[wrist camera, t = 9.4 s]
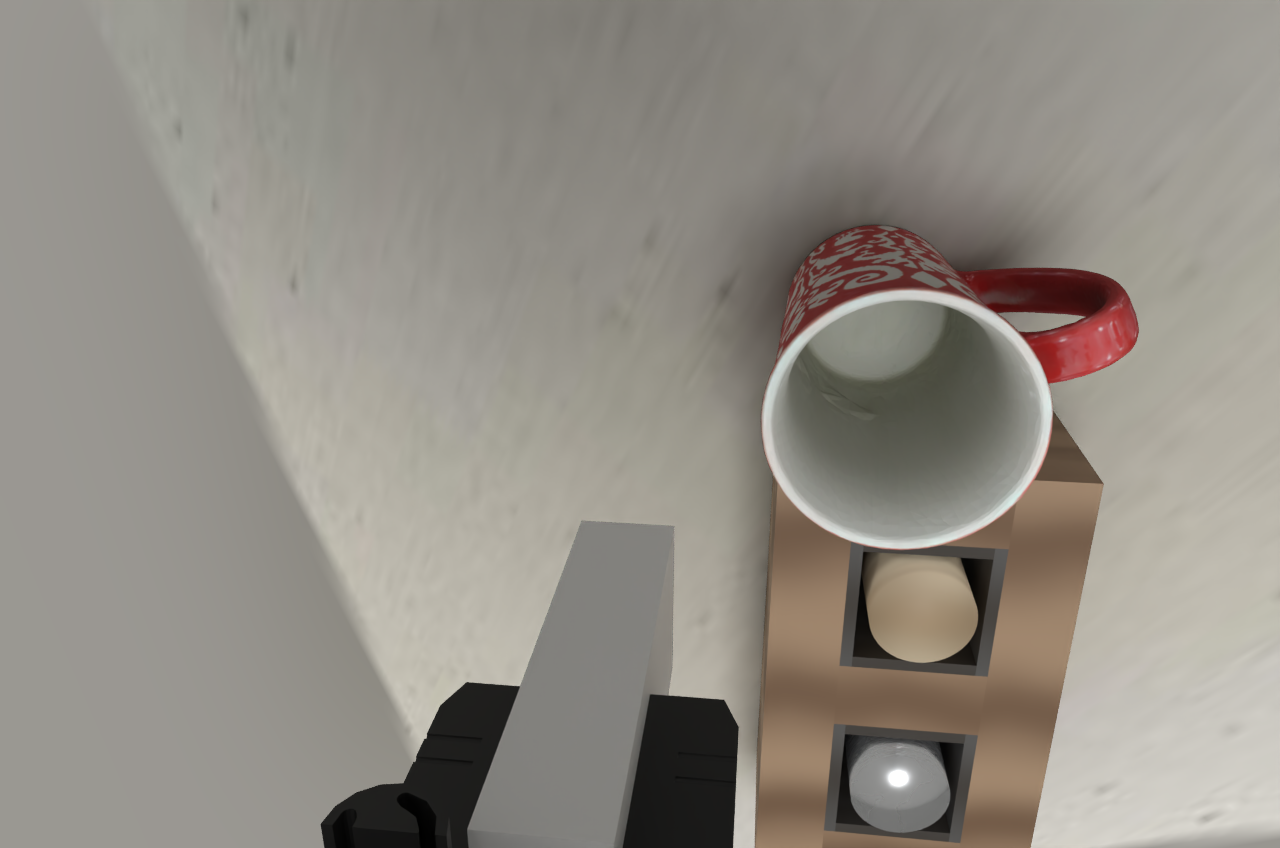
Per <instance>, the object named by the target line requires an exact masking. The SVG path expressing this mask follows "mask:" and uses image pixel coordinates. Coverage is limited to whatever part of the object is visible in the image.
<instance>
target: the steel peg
mask: <svg viewBox="0 0 1280 848" xmlns="http://www.w3.org/2000/svg"><path fill="white" fill-rule="evenodd" d="M845 745H846V756H847V766H848V776H849V786H850V796H851V802H852V805H853V807H854V809H855V811H856V812H857V814H858V815H859V816H860V817H861V818H862V819H863V820H864V821H866V822H867V823H869V824H870V825H872V826H874V827H876V828H879V829H881V830H885V831H889V832H899V833H903V832H913V831H917V830H921V829H923V828H926V827H928V826H930V825H932V824H933V823H935V822H936V821H937V820H938V819H940V818H941V816H942V815H943V814H944V813H945V811H946V810H947V807H948V805H949V802H950V788H949V784H948V779H947V775H946V770H945V766H944V762H943V757H942V753H941V748H940V744H939V742H936V741H924V740H912V739H900V738H888V737H875V736H863V735H851V734H845Z"/></svg>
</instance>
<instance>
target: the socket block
mask: <svg viewBox="0 0 1280 848" xmlns="http://www.w3.org/2000/svg"><path fill="white" fill-rule="evenodd" d="M1103 485H1104V484H1103V482H1102V481H1101V479H1100V478H1099V476H1098V475H1097V474H1096V472H1095V471H1094V469H1093V468H1092V466H1091V465H1090V463H1089V462H1088V460H1087V459H1086V458H1085V456H1084V455H1083V453H1082V452H1081V450H1080V449H1079V447H1078V446H1077V445H1076V443H1075V442H1074V440H1073V439H1072V437H1071V436H1070V434H1069V433H1068V431H1067V430H1066V429H1065V427H1064V426H1063V424H1062V423H1061V421H1060V420H1059V418H1058V417H1057V416H1056V414H1055V413H1054V411H1053V424H1052V433H1051V439H1050V444H1049V448H1048V451H1047V454H1046V457H1045V459H1044V462H1043V464H1042V467H1041V469H1040V471H1039V473H1038V474H1037V476H1036V478H1035V479H1034V481H1033V482H1032V484H1031V486H1030V487H1029V489H1028V490H1027V491H1026V492H1025V494H1024V495H1023V497H1022V498H1021V499H1020V500H1019V501H1017V502H1016V503H1015V504H1014V505H1013V506H1012V507H1011V508H1010V509H1009V510H1008V511H1007V512H1006V513H1005V514H1004V515H1002V516H1001V517H1000V518H998V519H997V520H995V521H994V522H992V523H991V524H989V525H988V526H986V527H984V528H983V529H981V530H979V531H977V532H975V533H973V534H971V535H969V536H967V537H964V538H962V539H959V540H956V541H953V542H950V543H946V544H943V545H939V546H935V547H930V548H921V549H911V550H893V549H881V548H875V547H869V546H865V545H861V544H857V543H854V542H851V541H848V540H846V539H843V538H840V537H838V536H836V535H834V534H832V533H830V532H828V531H826V530H824V529H823V528H821V527H820V526H818V525H817V524H815V523H814V522H813V521H811V520H810V519H809V518H807V517H806V516H805V515H804V514H803V513H802V512H800V511H799V510H798V509H797V508H796V507H795V506H794V505H793V503H792V502H791V501H790V500H789V499H788V498H787V496H786V495H785V494H784V492H783V491H782V489H781V488H780V486H779V485H778V483H777V481H776V479H775V477H774V475H773V485H772V502H771V519H770V536H769V554H768V571H767V588H766V605H765V622H764V640H763V657H762V674H761V691H760V708H759V726H758V743H757V767H756V813H755V848H1030V847H1031V842H1032V837H1033V832H1034V827H1035V822H1036V817H1037V812H1038V807H1039V803H1040V798H1041V793H1042V788H1043V783H1044V778H1045V773H1046V768H1047V763H1048V758H1049V753H1050V748H1051V743H1052V738H1053V733H1054V728H1055V723H1056V718H1057V713H1058V708H1059V703H1060V698H1061V693H1062V688H1063V683H1064V678H1065V673H1066V669H1067V664H1068V659H1069V654H1070V649H1071V644H1072V639H1073V634H1074V629H1075V624H1076V619H1077V614H1078V609H1079V604H1080V599H1081V594H1082V589H1083V584H1084V579H1085V574H1086V569H1087V564H1088V559H1089V554H1090V549H1091V544H1092V539H1093V535H1094V530H1095V525H1096V520H1097V515H1098V510H1099V505H1100V500H1101V495H1102V490H1103ZM863 552H877V553H893V554H909V555H926V556H942V557H958V558H961V561H962V564H963V567H964V570H965V573H966V576H967V579H968V582H969V585H970V588H971V591H972V594H973V597H974V600H975V603H976V606H977V610H978V623H977V627H976V630H975V633H974V635H973V636H972V638H971V640H970V641H969V642H968V643H967V645H965V646H964V647H963V648H962V649H961V650H960V651H958V652H957V653H955V654H954V655H952V656H950V657H948V658H945V659H942V660H939V661H934V662H926V663H917V662H910V661H906V660H902V659H899V658H897V657H895V656H893V655H891V654H889V653H888V652H886V651H885V650H884V649H883V648H882V647H881V646H880V645H879V644H878V643H877V641H876V640H875V638H874V637H873V635H872V632H871V629H870V625H869V619H868V612H867V606H866V599H865V593H864V586H863V580H862V574H861V568H862V558H863ZM845 734H851V735H863V736H875V737H888V738H900V739H912V740H924V741H936V742H939V744H940V748H941V753H942V757H943V762H944V766H945V770H946V775H947V779H948V784H949V788H950V802H949V805H948V807H947V810H946V811H945V813H944V814H943V815H942V816H941V818H940V819H938V820H937V821H936V822H935V823H933V824H932V825H930V826H928V827H926V828H923V829H921V830H917V831H913V832H903V833H899V832H889V831H885V830H881V829H879V828H876V827H874V826H872V825H870V824H869V823H867V822H866V821H864V820H863V819H862V818H861V817H860V816H859V815H858V814H857V812H856V811H855V809H854V807H853V805H852V802H851V796H850V786H849V776H848V766H847V756H846V745H845Z"/></svg>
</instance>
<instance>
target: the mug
mask: <svg viewBox="0 0 1280 848" xmlns="http://www.w3.org/2000/svg"><path fill="white" fill-rule="evenodd" d="M1002 312H1035V313H1055V314H1069V315H1079V316H1085V318H1083V319H1080V320H1079V321H1077V322H1075V323H1071V324H1067V325H1064V326H1061V327H1058V328H1055V329H1051V330H1046V331H1039V332H1019V331H1018V330H1017V329H1015V328H1014V327H1013V326H1012V325H1011V324H1010V323H1009V322H1008V321H1007V320H1006V319H1004V318H1003V317H1001V316H1000V315H999V314H997V313H1002ZM1138 333H1139V327H1138V322H1137V318H1136V314H1135V311H1134V309H1133V306H1132V304H1131V301H1130V298H1129V296H1128V294H1127V293H1126V291H1125V290H1124V289H1123V287H1122V286H1121V285H1120V284H1119V283H1117V282H1116V281H1114V280H1113V279H1111V278H1109V277H1106V276H1104V275H1101V274H1098V273H1093V272H1089V271H1083V270H1076V269H1063V268H1009V269H990V270H978V271H967V272H963V271H956V270H954V269H953V268H952V267H951V266H950V264H949V263H948V262H947V261H946V260H945V258H944V257H943V256H942V255H941V254H940V253H939V252H938V251H937V250H936V249H935V248H934V247H933V246H932V245H931V244H929V243H928V242H927V241H925V240H924V239H922V238H921V237H919V236H918V235H916V234H914V233H912V232H910V231H906V230H903V229H900V228H896V227H890V226H880V225H870V226H861V227H856V228H852V229H848V230H846V231H843V232H841V233H838V234H836V235H834V236H832V237H831V238H829V239H827V240H826V241H824V242H823V243H822V244H820V245H819V246H818V247H817V248H816V249H815V250H814V251H812V253H811V254H810V255H809V256H808V257H807V258H806V259H805V261H804V262H803V263H802V265H801V266H800V268H799V269H798V271H797V273H796V275H795V277H794V279H793V281H792V284H791V287H790V290H789V294H788V299H787V305H786V311H785V316H784V321H783V325H782V330H781V337H780V342H779V348H778V353H777V357H776V362H775V366H774V368H773V370H772V372H771V374H770V377H769V380H768V382H767V385H766V389H765V393H764V397H763V403H762V412H761V432H762V441H763V446H764V453H765V456H766V458H767V461H768V465H769V467H770V469H771V471H772V473H773V475H774V477H775V479H776V481H777V483H778V485H779V486H780V488H781V489H782V491H783V492H784V494H785V495H786V496H787V498H788V499H789V500H790V501H791V502H792V503H793V505H794V506H795V507H796V508H797V509H798V510H799V511H800V512H802V513H803V514H804V515H805V516H806V517H807V518H809V519H810V520H811V521H813V522H814V523H815V524H817V525H818V526H820V527H821V528H823V529H824V530H826V531H828V532H830V533H832V534H834V535H836V536H838V537H840V538H843V539H846V540H848V541H851V542H854V543H857V544H861V545H865V546H869V547H875V548H881V549H893V550H911V549H921V548H930V547H935V546H939V545H943V544H946V543H950V542H953V541H956V540H959V539H962V538H964V537H967V536H969V535H971V534H973V533H975V532H977V531H979V530H981V529H983V528H984V527H986V526H988V525H989V524H991V523H992V522H994V521H995V520H997V519H998V518H1000V517H1001V516H1002V515H1004V514H1005V513H1006V512H1007V511H1008V510H1009V509H1010V508H1011V507H1012V506H1013V505H1014V504H1015V503H1016V502H1017V501H1019V500H1020V499H1021V498H1022V497H1023V495H1024V494H1025V492H1026V491H1027V490H1028V489H1029V487H1030V486H1031V484H1032V482H1033V481H1034V479H1035V478H1036V476H1037V474H1038V473H1039V471H1040V469H1041V467H1042V464H1043V462H1044V459H1045V457H1046V454H1047V451H1048V448H1049V444H1050V439H1051V433H1052V424H1053V406H1052V396H1051V390H1050V386H1049V383H1056V382H1061V381H1067V380H1070V379H1074V378H1077V377H1082V376H1085V375H1087V374H1090V373H1093V372H1096V371H1098V370H1100V369H1103V368H1105V367H1107V366H1109V365H1111V364H1113V363H1115V362H1116V361H1118V360H1119V359H1121V358H1122V357H1123V356H1125V355H1126V354H1127V353H1128V352H1130V351H1131V349H1132V348H1133V347H1134V345H1135V343H1136V341H1137V337H1138Z"/></svg>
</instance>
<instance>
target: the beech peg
mask: <svg viewBox="0 0 1280 848" xmlns="http://www.w3.org/2000/svg"><path fill="white" fill-rule="evenodd" d="M861 574H862V580H863V586H864V593H865V599H866V606H867V612H868V619H869V625H870V629H871V632H872V635H873V637H874V638H875V640H876V641H877V643H878V644H879V645H880V646H881V647H882V648H883V649H884V650H885V651H886V652H888V653H889V654H891V655H893V656H895V657H897V658H899V659H902V660H906V661H910V662H917V663H926V662H934V661H939V660H942V659H945V658H948V657H950V656H952V655H954V654H955V653H957V652H958V651H960V650H961V649H962V648H963V647H964V646H965V645H967V643H968V642H969V641H970V640H971V638H972V636H973V635H974V633H975V630H976V627H977V623H978V610H977V606H976V603H975V600H974V597H973V594H972V591H971V588H970V585H969V582H968V579H967V576H966V573H965V570H964V567H963V564H962V561H961V558H958V557H942V556H926V555H909V554H893V553H877V552H863V558H862V568H861Z"/></svg>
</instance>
